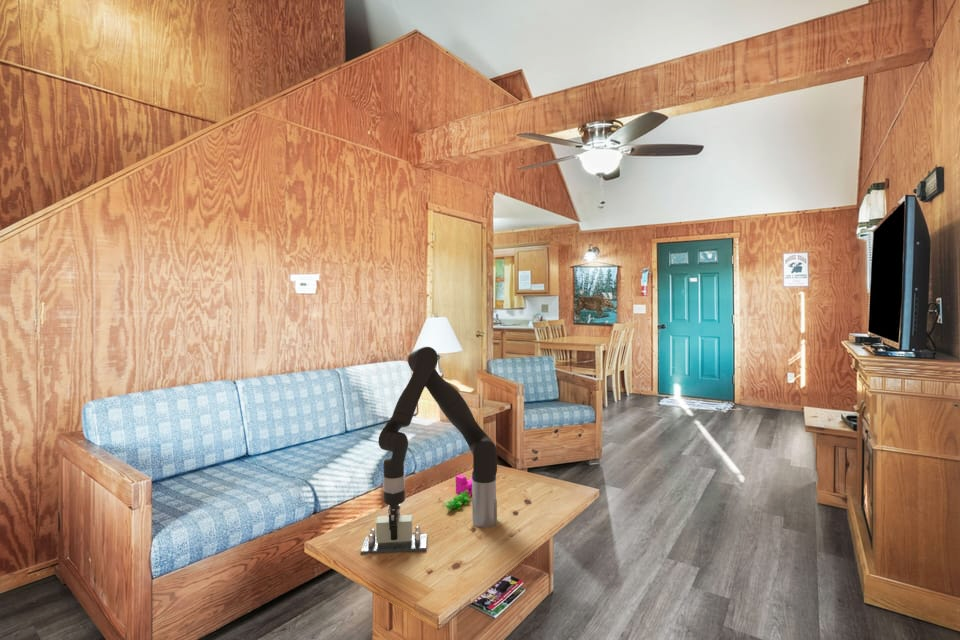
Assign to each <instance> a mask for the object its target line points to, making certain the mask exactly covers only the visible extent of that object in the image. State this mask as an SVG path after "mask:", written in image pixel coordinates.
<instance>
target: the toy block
mask: <svg viewBox="0 0 960 640" xmlns="http://www.w3.org/2000/svg"><path fill="white" fill-rule="evenodd" d="M465 490H469V492H468V493H467V495H469V494H471V495H472V476H471V477H470V479H469V480H467V476H465V475H461V474H458V475H456V476H455V494H457V495H460V494H461V492H464V491H465Z"/></svg>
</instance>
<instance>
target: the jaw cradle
mask: <svg viewBox="0 0 960 640" xmlns="http://www.w3.org/2000/svg"><path fill="white" fill-rule="evenodd" d="M414 527H415V529H414V531H415V532H414V534H413V533H412V541H403V542H385V543H376V527H371V528H369V534H368V536H365V537H364V540H363V543H362V546H361V550H360V555H365V554H367V555H368V553H370V554H371V553H372V554H393V553H394V554H396V553H419V552H427V544H428V539H427V538H428V536H427V535H428V534H427V533H421V526H420V525H416V526H414ZM363 553H364V554H363ZM370 554H369V555H370Z"/></svg>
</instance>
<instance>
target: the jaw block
mask: <svg viewBox="0 0 960 640" xmlns="http://www.w3.org/2000/svg"><path fill="white" fill-rule="evenodd" d="M375 524H376V525H375V536H376V543H385V542H403V541H412V535H413V514H403V515H401V514H400V516H399V521H398V522H397V527H398V528H397V540H391V530H390V529H389V515H381V516H377V518H376V523H375ZM392 526H395V525H392Z"/></svg>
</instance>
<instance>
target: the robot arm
mask: <svg viewBox="0 0 960 640" xmlns="http://www.w3.org/2000/svg"><path fill="white" fill-rule="evenodd" d="M438 360H439V355H438V353H437V351H436V350H435V349H434V348H433V347H431V346H423V347H420V348H417V349H414V350H412V351H411V352H410V353H409V354H408V357H407V364H408V367H409V368H410V370H411V371H412V374H411V377H410V379H409V381H408V383H407V384H406V386H405V387H404V389H403V391H402V392H401V394H400V396H399V397H398V400H397V402H396V405H395V407H394V410H393V413H392V415H391V417H390V419H389V420H388V421H387V422H386V424H385V425H384V427H383V428H382V430H381V431H380V434H379V437H378V446H379V448H380V449H381V450H382V451H387V452H391V456H388V457H387V458H385V459H384V461H383V464H382V465H383V466H382V467H383V479H382V496H383V497H382V498H383V499H382V500H383V503H384V504H385V505H388V509H387V513H388V516H389V529H390V530H391V540H397V528H398V527H397V522H398V521H399V516H400V515H401V504H403V503H404V502H405V500H406V484H405V482H406V480H405V479H406V478H405V461H406V455H407V451H408V448H409V439H408V437H407V434H405V433H404V432H401V431H400V430H401V429H402V428H407V427H409V426H410V424H412V420H413V417H414V415H415V412H416V409H417V406H418V404H419V402H420V398H421V396H422V394H423V391H424V390H425V388H426V389H427V391H428V392H429V394H430V395H431V396H432V398H433V400H434V401H435V403H436V404H437V405H438V407H439V408H440V410H441V412H442V413H443V415H444V416H445V417H446V418H447V420H448V421H449V423H451V424H452V425H453V426H454V428H456V430H458V431H459V433H460V434H461V435H462V437H463V439H464V440H465V442H466V444H467V445H468V448H469V450H470V451H471V454H472V456H473V457H472V458H473V459H472V460H473V463H472V465H473V467H472V468H473V469H472V472H471V477H472V494H471V495H472V496H471V499H472V500H471V501H472V502H471V503H472V504H471V505H472V512H471V513H472V517H471V518H472V525H474V526H475V527H478V528H481V529H483V528H484V529H486V528H488V529H489V528H492V527H494V525H495V526H498V500H497V473H498V449H497V445H496V444H495V443H494V441H493V440H492V439H491V438H490V437H489V435H487V434H486V433H485V431H484V430H483V429H482V427H481V426H480V425H479V424H478V422H477V421H476V419H475V418H474V415H473V413H472V410H471V409H470V407H469V405H468V404H467V402H466V400H465V399H464V397H463V395H461V393H460V391H458V389H456V388H455V387H454V386H453V385H452V384H451V383H449V382H447V381H446V380H445V379H444V378H443V377H442V376H441V375H440V374H439V372H438V370H437V369H436V366H437V364H438ZM392 525H395V526H392Z"/></svg>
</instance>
